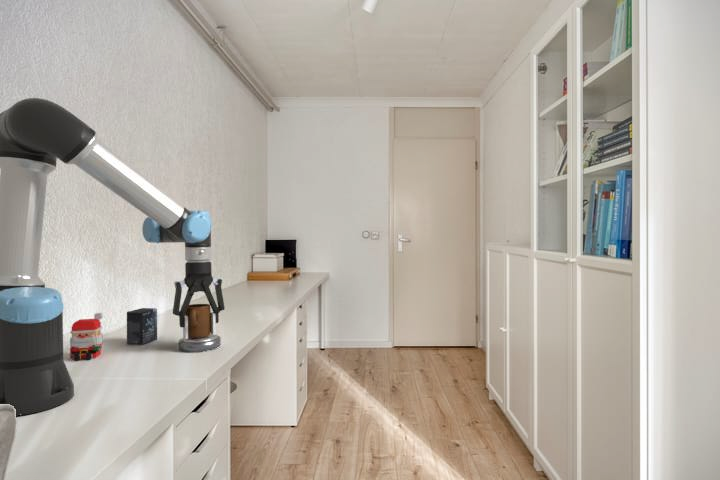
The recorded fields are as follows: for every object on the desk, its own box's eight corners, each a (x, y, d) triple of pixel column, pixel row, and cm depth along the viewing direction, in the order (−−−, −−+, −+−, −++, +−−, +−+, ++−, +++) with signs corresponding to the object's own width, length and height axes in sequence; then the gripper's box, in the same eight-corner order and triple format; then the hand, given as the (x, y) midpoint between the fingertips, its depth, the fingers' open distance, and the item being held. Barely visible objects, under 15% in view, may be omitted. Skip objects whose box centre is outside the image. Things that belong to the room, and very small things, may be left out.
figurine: (65, 362, 121) (64, 318, 121) (74, 355, 128) (74, 314, 128) (99, 359, 123) (98, 316, 123) (107, 353, 130) (106, 312, 130)
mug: (206, 341, 129) (205, 309, 129) (179, 342, 128) (178, 310, 128) (212, 332, 141) (212, 303, 141) (187, 333, 140) (187, 304, 139)
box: (142, 345, 139) (141, 311, 138) (126, 344, 140) (125, 311, 140) (158, 339, 146) (157, 307, 146) (143, 339, 147) (142, 307, 147)
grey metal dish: (184, 354, 127) (184, 344, 127) (174, 346, 136) (174, 336, 136) (225, 348, 134) (225, 338, 133) (213, 340, 143) (213, 331, 143)
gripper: (165, 263, 126) (166, 343, 126) (235, 260, 137) (236, 333, 138) (159, 262, 132) (161, 338, 132) (227, 259, 144) (228, 329, 144)
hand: (199, 335), depth 135 cm, fingers closed on mug, 7 cm apart
